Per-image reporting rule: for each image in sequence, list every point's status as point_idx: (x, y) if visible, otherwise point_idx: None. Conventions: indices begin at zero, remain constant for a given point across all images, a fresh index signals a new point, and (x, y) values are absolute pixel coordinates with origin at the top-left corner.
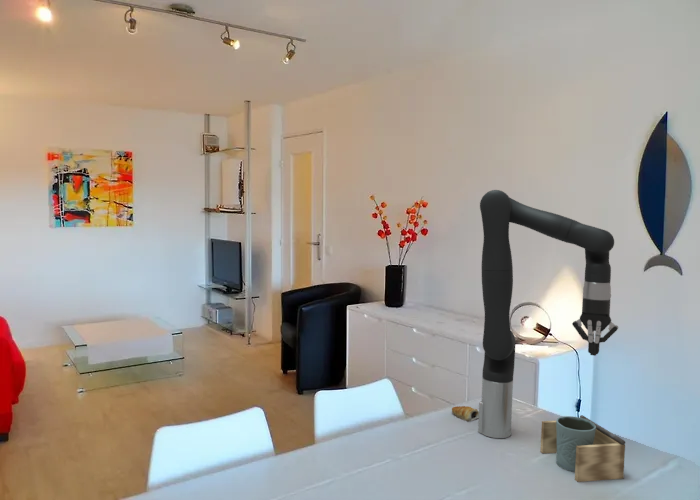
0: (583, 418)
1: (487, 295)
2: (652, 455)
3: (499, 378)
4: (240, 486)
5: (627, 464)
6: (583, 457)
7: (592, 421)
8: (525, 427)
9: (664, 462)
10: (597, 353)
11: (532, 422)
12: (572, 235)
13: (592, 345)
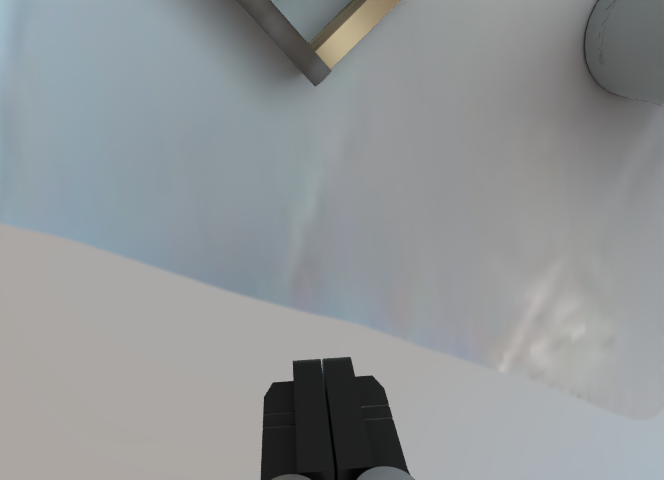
0: (308, 44)
1: None
2: (65, 176)
3: None
4: None
5: (117, 16)
6: None
7: (252, 2)
8: (535, 169)
9: (9, 131)
10: (274, 387)
11: (516, 236)
12: None
13: (344, 440)
